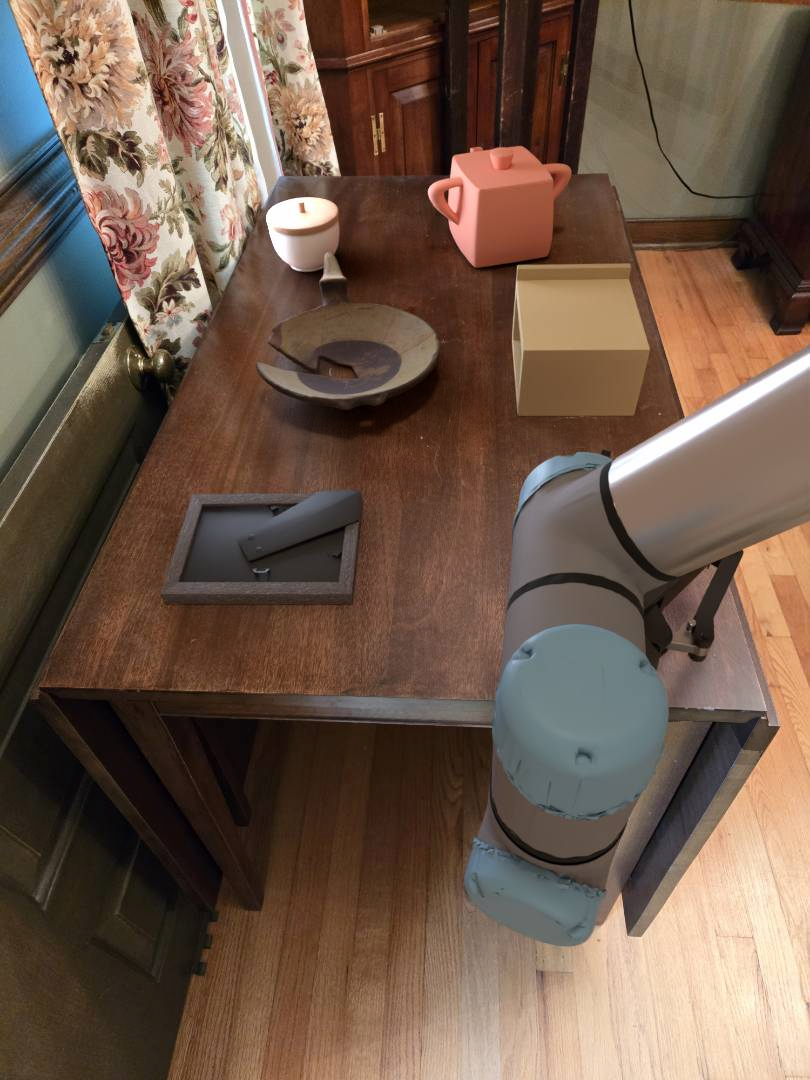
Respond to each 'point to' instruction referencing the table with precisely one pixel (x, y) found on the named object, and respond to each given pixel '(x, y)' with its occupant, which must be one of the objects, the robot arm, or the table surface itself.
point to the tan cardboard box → (577, 341)
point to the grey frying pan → (351, 348)
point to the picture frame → (267, 549)
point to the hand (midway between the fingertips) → (655, 474)
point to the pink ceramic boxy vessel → (500, 204)
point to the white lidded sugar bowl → (304, 231)
